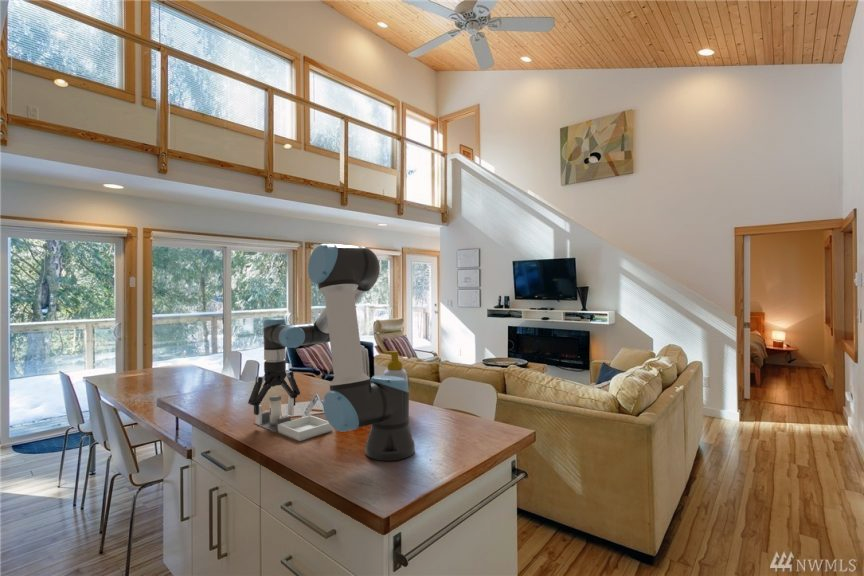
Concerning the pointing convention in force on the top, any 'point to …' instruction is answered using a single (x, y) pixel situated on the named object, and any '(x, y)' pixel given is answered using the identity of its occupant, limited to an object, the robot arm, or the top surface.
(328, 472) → the top surface
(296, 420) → the parts tray
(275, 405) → the cylinder
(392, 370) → the soap bottle
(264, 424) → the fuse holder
